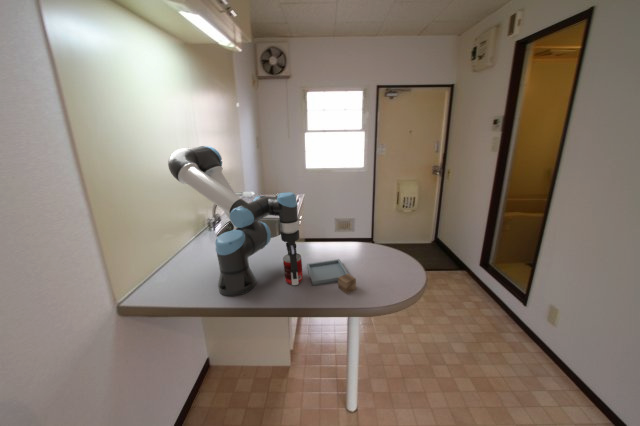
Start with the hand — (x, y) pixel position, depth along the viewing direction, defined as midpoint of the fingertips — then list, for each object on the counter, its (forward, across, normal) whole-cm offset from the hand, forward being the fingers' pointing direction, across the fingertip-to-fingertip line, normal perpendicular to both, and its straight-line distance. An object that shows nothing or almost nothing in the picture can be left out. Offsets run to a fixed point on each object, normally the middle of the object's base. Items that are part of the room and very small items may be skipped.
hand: (294, 279), depth 120 cm
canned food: (+1, 0, 0) cm, 1 cm away
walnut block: (0, -13, -20) cm, 24 cm away
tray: (0, +1, -15) cm, 15 cm away
